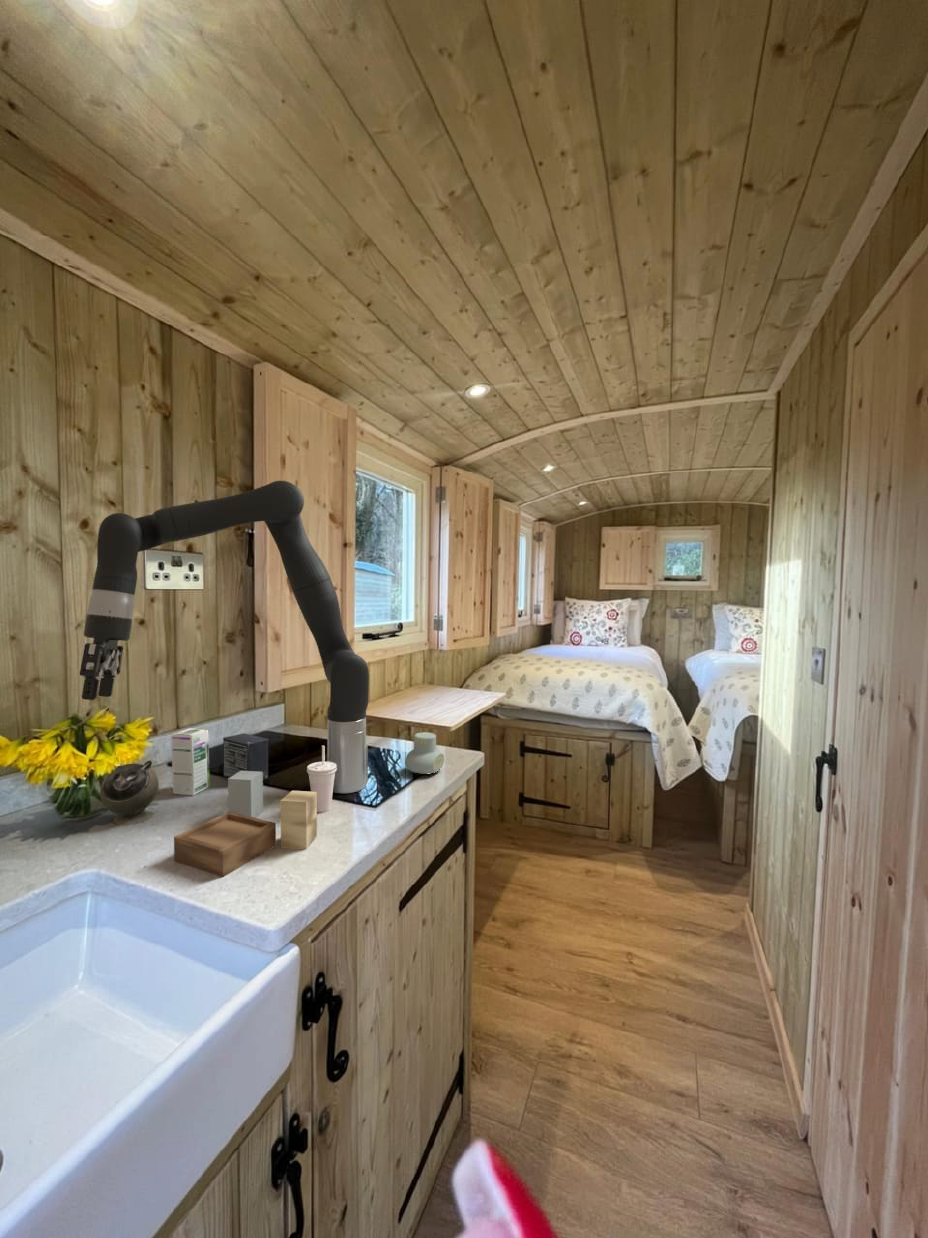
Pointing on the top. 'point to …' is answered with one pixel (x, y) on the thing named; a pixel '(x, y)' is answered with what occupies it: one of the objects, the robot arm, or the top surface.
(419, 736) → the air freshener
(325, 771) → the smoothie
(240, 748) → the small box
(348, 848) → the top surface
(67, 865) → the top surface
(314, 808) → the oak block
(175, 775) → the syrup box
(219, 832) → the walnut tray
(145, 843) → the top surface
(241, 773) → the grey block
